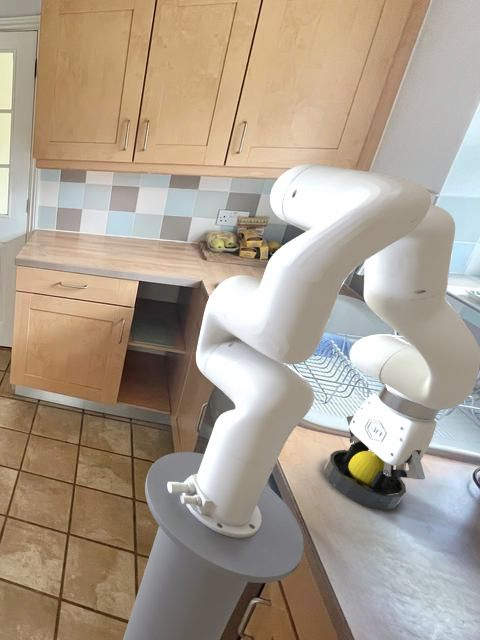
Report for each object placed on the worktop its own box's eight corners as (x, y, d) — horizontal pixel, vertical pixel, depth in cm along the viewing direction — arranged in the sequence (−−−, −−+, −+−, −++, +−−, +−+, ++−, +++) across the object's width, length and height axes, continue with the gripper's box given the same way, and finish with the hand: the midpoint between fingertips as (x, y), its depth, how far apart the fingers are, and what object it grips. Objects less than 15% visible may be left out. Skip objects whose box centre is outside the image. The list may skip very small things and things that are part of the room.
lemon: (340, 467, 86) (356, 438, 83) (376, 481, 83) (394, 451, 80) (343, 486, 82) (360, 456, 79) (380, 500, 79) (399, 470, 76)
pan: (354, 509, 78) (362, 496, 76) (310, 461, 88) (316, 448, 86) (414, 511, 77) (423, 498, 76) (363, 462, 88) (370, 450, 86)
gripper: (348, 371, 82) (314, 440, 89) (435, 436, 66) (385, 512, 74) (386, 372, 82) (349, 441, 89) (483, 437, 66) (428, 514, 74)
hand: (366, 473), depth 81 cm, fingers closed on lemon, 5 cm apart
